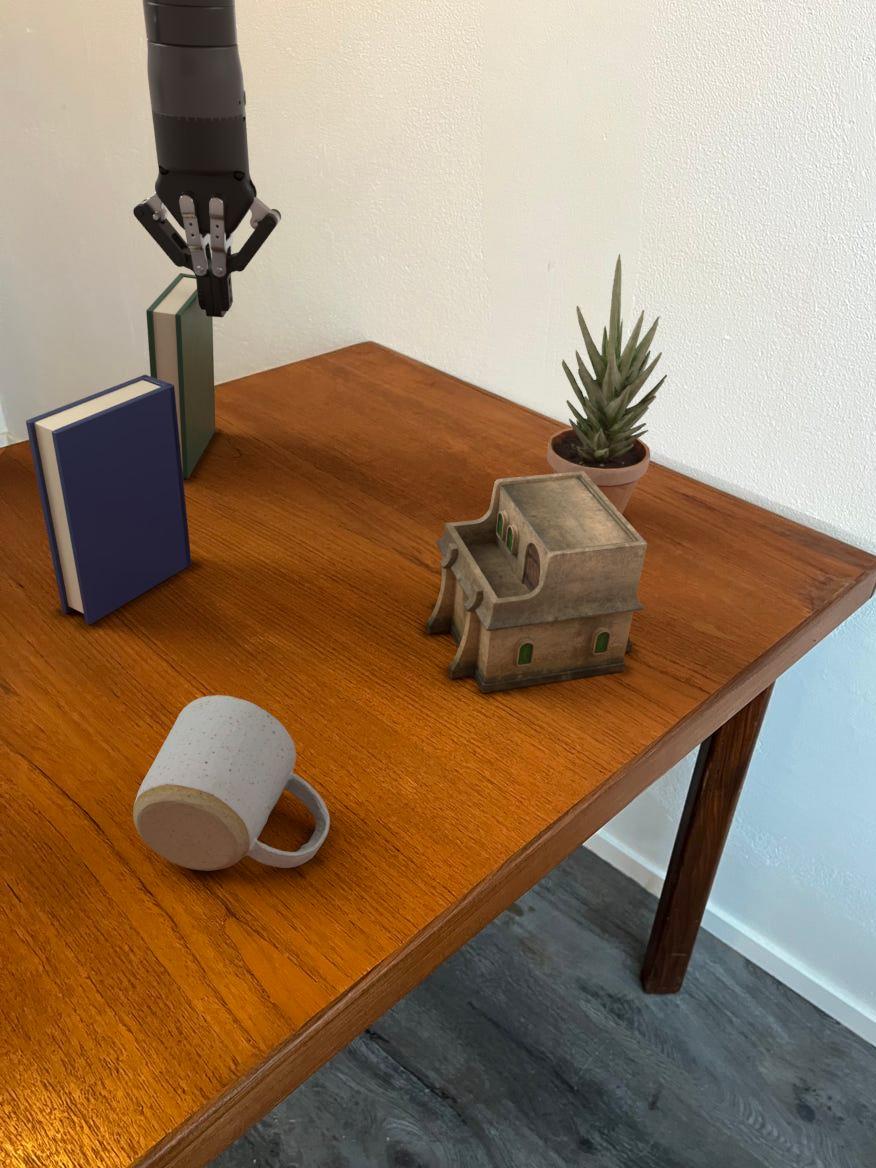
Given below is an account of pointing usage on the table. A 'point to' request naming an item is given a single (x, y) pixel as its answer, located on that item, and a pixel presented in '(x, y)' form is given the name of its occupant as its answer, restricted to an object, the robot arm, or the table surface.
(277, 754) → the ceramic mug
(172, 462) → the navy book
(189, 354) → the green book
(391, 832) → the table surface
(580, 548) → the miniature house
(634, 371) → the potted plant
